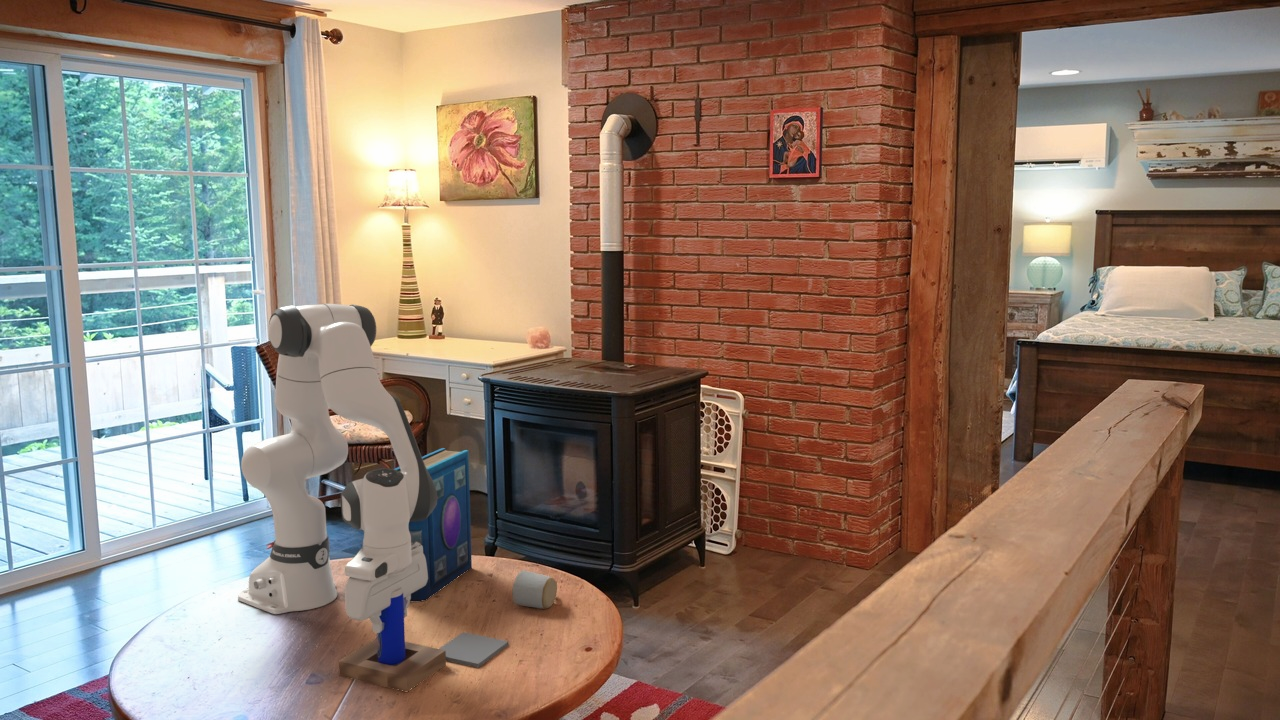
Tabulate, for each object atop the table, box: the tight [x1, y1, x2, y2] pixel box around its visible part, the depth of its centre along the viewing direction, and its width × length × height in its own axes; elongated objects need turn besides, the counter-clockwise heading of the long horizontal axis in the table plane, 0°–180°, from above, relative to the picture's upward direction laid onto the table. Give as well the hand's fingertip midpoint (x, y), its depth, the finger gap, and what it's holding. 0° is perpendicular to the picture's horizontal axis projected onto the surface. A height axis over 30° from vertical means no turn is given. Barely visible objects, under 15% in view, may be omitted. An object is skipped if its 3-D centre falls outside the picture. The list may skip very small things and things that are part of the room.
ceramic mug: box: [512, 569, 558, 609], centre depth 216 cm, size 11×8×8 cm
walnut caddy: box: [338, 637, 447, 692], centre depth 184 cm, size 16×12×3 cm
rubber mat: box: [438, 631, 510, 669], centre depth 193 cm, size 11×11×1 cm
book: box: [394, 447, 473, 602], centre depth 226 cm, size 24×9×30 cm, turn 161°
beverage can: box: [376, 587, 406, 667], centre depth 183 cm, size 5×5×15 cm
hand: (390, 624), depth 183 cm, fingers closed on beverage can, 5 cm apart
